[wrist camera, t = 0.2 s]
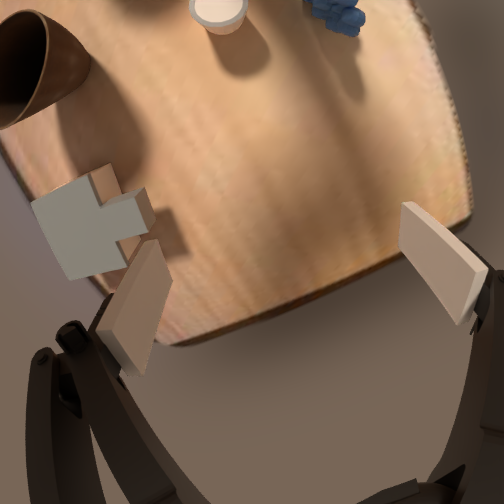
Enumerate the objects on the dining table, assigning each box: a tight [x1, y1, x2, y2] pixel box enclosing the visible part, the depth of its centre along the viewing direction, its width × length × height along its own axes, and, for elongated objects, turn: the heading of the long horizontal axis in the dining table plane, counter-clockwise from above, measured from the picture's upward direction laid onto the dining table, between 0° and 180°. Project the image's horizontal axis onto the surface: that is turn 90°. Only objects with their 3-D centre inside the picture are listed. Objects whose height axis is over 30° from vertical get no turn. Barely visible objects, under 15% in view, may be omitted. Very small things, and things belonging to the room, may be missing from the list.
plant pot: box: [0, 9, 90, 130], centre depth 22 cm, size 15×15×16 cm
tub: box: [52, 163, 141, 260], centre depth 39 cm, size 14×12×7 cm
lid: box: [30, 173, 157, 280], centre depth 36 cm, size 15×19×4 cm
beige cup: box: [189, 0, 248, 35], centre depth 25 cm, size 7×7×7 cm
